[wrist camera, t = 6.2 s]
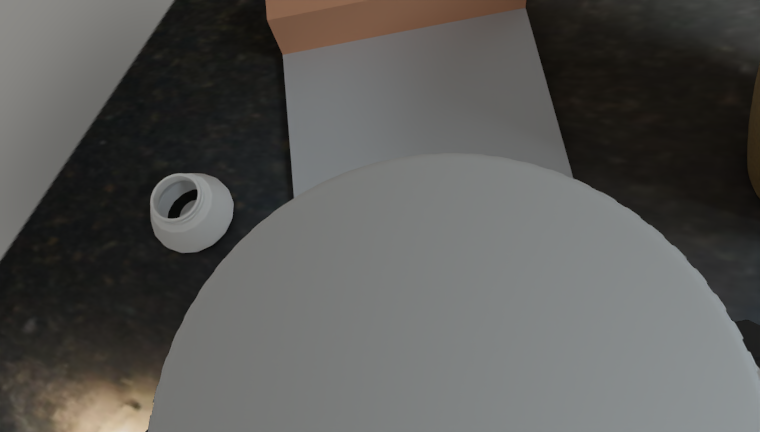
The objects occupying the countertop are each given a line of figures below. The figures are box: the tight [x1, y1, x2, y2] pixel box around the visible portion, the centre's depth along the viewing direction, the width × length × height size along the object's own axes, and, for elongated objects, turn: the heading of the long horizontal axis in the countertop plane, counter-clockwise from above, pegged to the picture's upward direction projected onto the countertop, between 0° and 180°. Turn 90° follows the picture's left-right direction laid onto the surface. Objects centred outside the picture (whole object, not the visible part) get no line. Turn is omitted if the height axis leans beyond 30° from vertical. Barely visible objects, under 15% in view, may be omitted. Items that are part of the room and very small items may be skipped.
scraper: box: [266, 0, 573, 198], centre depth 35 cm, size 16×25×4 cm, turn 7°
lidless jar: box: [150, 173, 234, 253], centre depth 37 cm, size 5×3×5 cm
